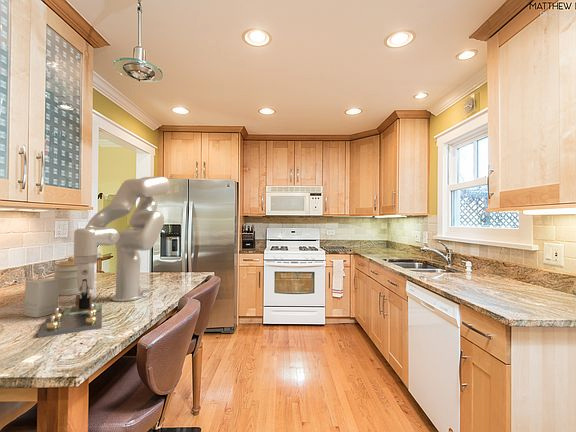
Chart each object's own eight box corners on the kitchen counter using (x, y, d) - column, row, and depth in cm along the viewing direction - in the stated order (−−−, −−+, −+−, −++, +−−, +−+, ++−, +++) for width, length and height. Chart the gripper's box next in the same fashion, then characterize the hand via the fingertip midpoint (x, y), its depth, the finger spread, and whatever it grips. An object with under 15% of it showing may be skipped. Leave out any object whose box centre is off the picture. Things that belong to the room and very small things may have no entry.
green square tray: (101, 304, 121) (102, 290, 121) (101, 312, 110) (102, 297, 110) (65, 308, 114) (66, 294, 114) (62, 317, 104) (62, 301, 104)
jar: (92, 291, 144) (93, 256, 145) (62, 297, 132) (64, 258, 133) (76, 288, 149) (77, 254, 150) (46, 294, 138) (48, 256, 138)
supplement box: (58, 312, 110) (60, 279, 111) (36, 318, 103) (37, 282, 104) (45, 310, 113) (47, 277, 113) (23, 315, 106) (24, 281, 106)
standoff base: (101, 314, 108) (102, 301, 109) (101, 327, 95) (102, 312, 95) (46, 321, 100) (47, 307, 100) (38, 337, 86) (38, 320, 86)
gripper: (96, 262, 107) (95, 311, 107) (97, 256, 122) (96, 300, 122) (71, 263, 103) (70, 314, 103) (75, 258, 118) (74, 302, 118)
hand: (84, 306), depth 112 cm, fingers closed on green square tray, 5 cm apart
